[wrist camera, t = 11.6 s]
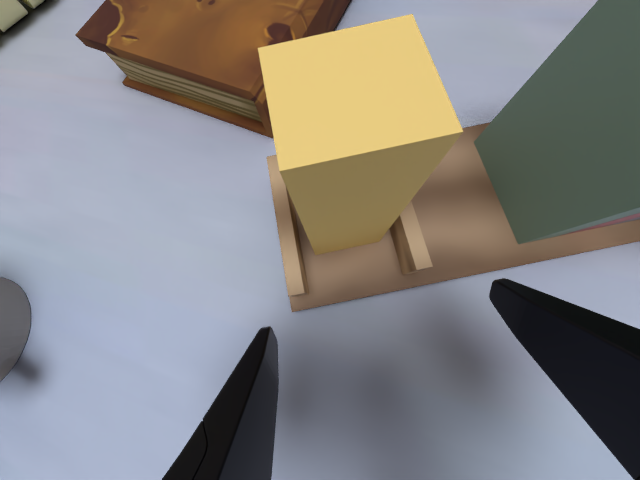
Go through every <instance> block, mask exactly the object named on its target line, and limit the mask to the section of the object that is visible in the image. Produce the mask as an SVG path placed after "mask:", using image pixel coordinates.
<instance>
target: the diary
mask: <svg viewBox="0 0 640 480" xmlns="http://www.w3.org/2000/svg"><path fill="white" fill-rule="evenodd" d="M349 2H350V0H106V1H105V2H104V3H103V4H102V5H101V6H100V7H99V9H98V10H97V11H96V12H95V13H94V14H93V15H92V16H91V18H90V19H89V20H88V21H87V22H86V23H85V24H84V26H83V27H82V28H81V29H80V30H79V31H78V32H77V34H76V36H77V37H78V38H79V39H80V40H81V41H82V42H83V43H84V44H85V45H86V46H88V47H91V48H94V49H97V50H100V51H103V52H105V53H106V54H107V55H108V56H109V57H110V58H111V59H112V60H113V61H114V62H115V63H116V65H117V66H118V67H119V68H120V69H121V70H122V71H123V72H124V73H125V74H126V75H127V77H126V78H125V79H124V81H123V82H122V83H123V84H124V85H125V86H127V87H130V88H133V89H135V90H138V91H141V92H144V93H147V94H149V95H152V96H155V97H158V98H161V99H163V100H166V101H169V102H172V103H175V104H177V105H180V106H183V107H186V108H189V109H192V110H194V111H197V112H200V113H203V114H206V115H208V116H211V117H214V118H217V119H220V120H222V121H225V122H228V123H231V124H234V125H236V126H239V127H242V128H245V129H248V130H251V131H253V132H256V133H259V134H262V135H265V136H267V137H270V138H273V131H272V126H271V120H270V114H269V109H268V103H267V97H266V92H265V86H264V80H263V75H262V69H261V63H260V58H259V52H258V48H260V47H265V46H269V45H274V44H278V43H283V42H287V41H292V40H297V39H301V38H306V37H310V36H315V35H319V34H324V33H328V32H333V31H334V29H335V27H336V25H337V23H338V22H339V20H340V18H341V16H342V14H343V13H344V11H345V9H346V7H347V6H348V4H349Z"/></svg>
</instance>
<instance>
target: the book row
mask: <svg viewBox="0 0 640 480" xmlns="http://www.w3.org/2000/svg"><path fill="white" fill-rule="evenodd" d="M474 144H475V146H476V149H477V151H478V153H479V156H480V158H481V160H482V162H483V165H484V167H485V169H486V172H487V174H488V176H489V179H490V181H491V183H492V185H493V188H494V190H495V192H496V195H497V197H498V199H499V202H500V204H501V206H502V208H503V211H504V213H505V215H506V218H507V220H508V222H509V225H510V227H511V229H512V231H513V234H514V236H515V238H516V241H517V243H518V244H522V243H527V242H532V241H537V240H542V239H546V238H551V237H556V236H560V235H566V234H571V233H576V232H580V231H585V230H590V229H595V228H600V227H605V226H610V225H615V224H619V223H624V222H629V221H634V220H639V219H640V0H598V1H597V2H596V3H595V5H594V6H593V7H592V8H591V9H590V10H589V11H588V13H587V14H586V15H585V16H584V17H583V18H582V19H581V20H580V22H579V23H578V24H577V25H576V26H575V27H574V28H573V30H572V31H571V32H570V33H569V34H568V35H567V36H566V38H565V39H564V40H563V41H562V42H561V43H560V44H559V45H558V47H557V48H556V49H555V50H554V51H553V52H552V53H551V55H550V56H549V57H548V58H547V59H546V60H545V61H544V63H543V64H542V65H541V66H540V67H539V68H538V69H537V71H536V72H535V73H534V74H533V75H532V76H531V77H530V78H529V80H528V81H527V82H526V83H525V84H524V85H523V86H522V88H521V89H520V90H519V91H518V92H517V93H516V94H515V96H514V97H513V98H512V99H511V100H510V101H509V102H508V103H507V105H506V106H505V107H504V108H503V109H502V110H501V111H500V113H499V114H498V115H497V116H496V117H495V118H494V119H493V121H492V122H491V123H490V124H489V125H488V126H487V127H486V128H485V130H484V131H483V132H482V133H481V134H480V135H479V136H478V138H477V139H476V140H475V141H474Z"/></svg>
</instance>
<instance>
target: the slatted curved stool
mask: <svg viewBox="0 0 640 480" xmlns="http://www.w3.org/2000/svg"><path fill="white" fill-rule="evenodd" d="M21 1H22V2H24V3H25V4H27V5H28V6H30V7H31V8H33V9H34V8H36V7H37V6H38V5H39V4H41V3H42V2H43V1H45V0H21ZM27 14H28V12H27V10H26V9H25V8H24V7H23V6H22V5H21V4H20V3H19V2H18V1H17V0H0V30H1V31H2V32H5V31H6V30H7V29H8V28H10V27H11V26H12V25H14V24H15V23H16V22H18V21H19V20H20V19H21V18H23V17H24V16H25V15H27Z"/></svg>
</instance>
